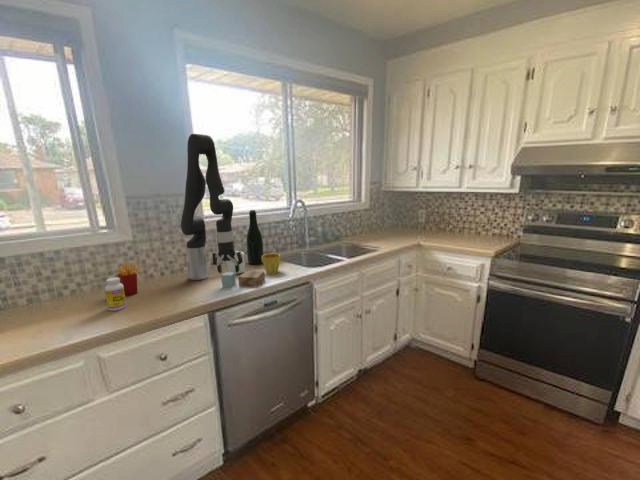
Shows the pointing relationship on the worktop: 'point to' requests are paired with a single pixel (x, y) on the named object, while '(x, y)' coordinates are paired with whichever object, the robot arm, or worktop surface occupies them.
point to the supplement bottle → (115, 294)
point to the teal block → (228, 279)
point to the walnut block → (251, 278)
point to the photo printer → (232, 266)
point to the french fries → (128, 279)
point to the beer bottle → (254, 241)
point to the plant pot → (271, 263)
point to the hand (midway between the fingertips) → (228, 272)
